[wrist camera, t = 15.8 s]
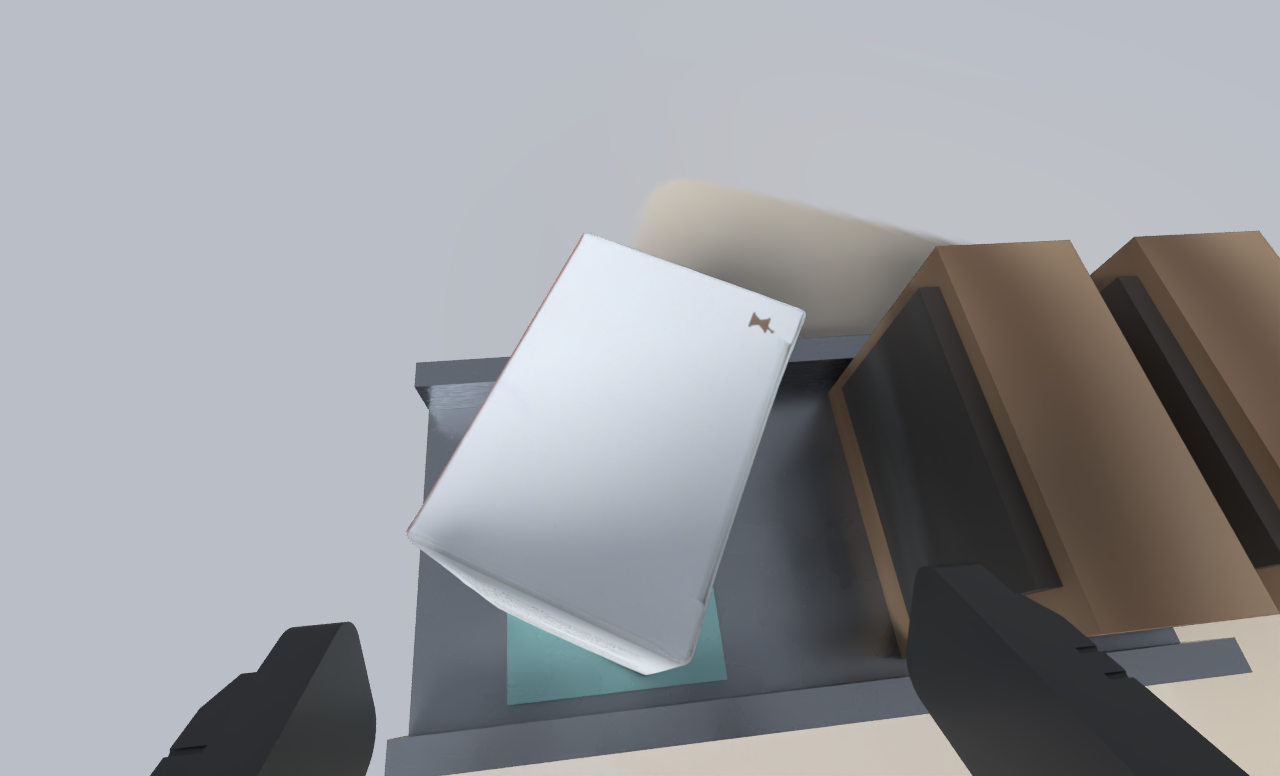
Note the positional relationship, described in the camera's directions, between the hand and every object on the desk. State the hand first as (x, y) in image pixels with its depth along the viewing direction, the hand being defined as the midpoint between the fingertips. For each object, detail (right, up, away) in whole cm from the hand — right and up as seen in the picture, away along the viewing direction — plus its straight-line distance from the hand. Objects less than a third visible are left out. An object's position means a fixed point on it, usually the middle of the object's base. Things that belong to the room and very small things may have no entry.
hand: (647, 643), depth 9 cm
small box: (-1, -2, +13) cm, 13 cm away
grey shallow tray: (+5, -2, +15) cm, 16 cm away
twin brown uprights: (+13, -1, +14) cm, 19 cm away
